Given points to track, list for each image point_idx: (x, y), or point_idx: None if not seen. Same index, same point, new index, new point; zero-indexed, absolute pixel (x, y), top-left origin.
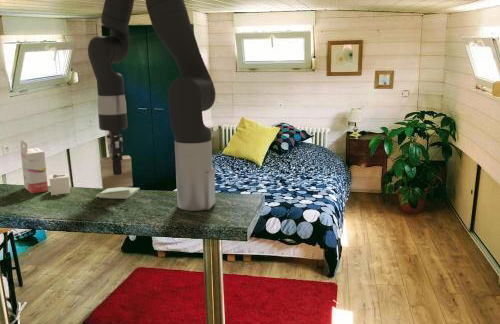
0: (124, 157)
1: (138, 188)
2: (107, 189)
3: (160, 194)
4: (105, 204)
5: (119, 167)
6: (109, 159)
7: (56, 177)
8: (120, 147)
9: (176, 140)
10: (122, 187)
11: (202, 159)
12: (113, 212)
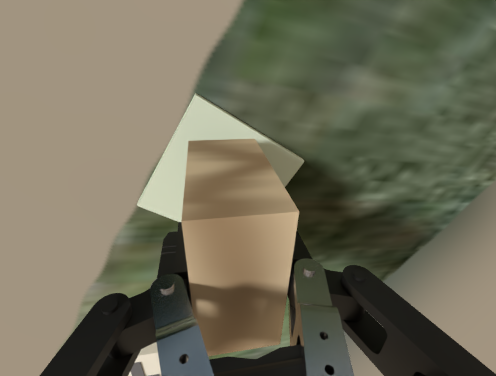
0: (251, 250)
1: (203, 100)
2: (176, 215)
3: (310, 7)
4: (323, 216)
5: (302, 244)
6: (270, 317)
7: (159, 374)
8: (467, 362)
9: None
10: (163, 164)
11: None
12: (404, 198)
